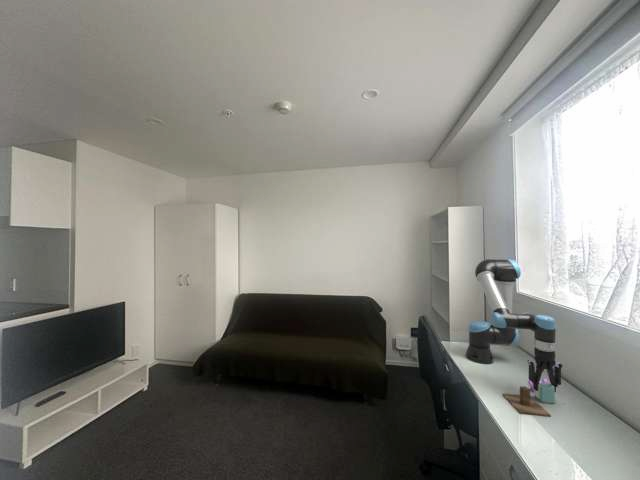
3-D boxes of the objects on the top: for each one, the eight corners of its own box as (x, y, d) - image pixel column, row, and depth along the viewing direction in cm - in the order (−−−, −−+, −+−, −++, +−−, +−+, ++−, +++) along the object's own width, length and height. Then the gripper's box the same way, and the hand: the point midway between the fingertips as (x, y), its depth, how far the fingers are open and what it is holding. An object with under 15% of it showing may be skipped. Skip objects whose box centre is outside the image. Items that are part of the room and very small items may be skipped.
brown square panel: (502, 395, 126) (502, 379, 126) (529, 397, 124) (529, 381, 124) (519, 413, 112) (519, 395, 112) (550, 416, 110) (550, 398, 110)
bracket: (548, 395, 126) (548, 381, 126) (533, 392, 129) (533, 378, 129) (541, 383, 137) (541, 370, 138) (528, 380, 140) (528, 367, 140)
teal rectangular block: (534, 395, 125) (534, 382, 125) (546, 396, 124) (546, 383, 125) (542, 402, 120) (542, 387, 120) (554, 403, 119) (554, 389, 119)
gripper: (528, 350, 120) (528, 400, 120) (572, 353, 117) (572, 404, 117) (519, 344, 128) (518, 391, 128) (560, 347, 125) (559, 395, 125)
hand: (544, 397), depth 122 cm, fingers closed on teal rectangular block, 5 cm apart
